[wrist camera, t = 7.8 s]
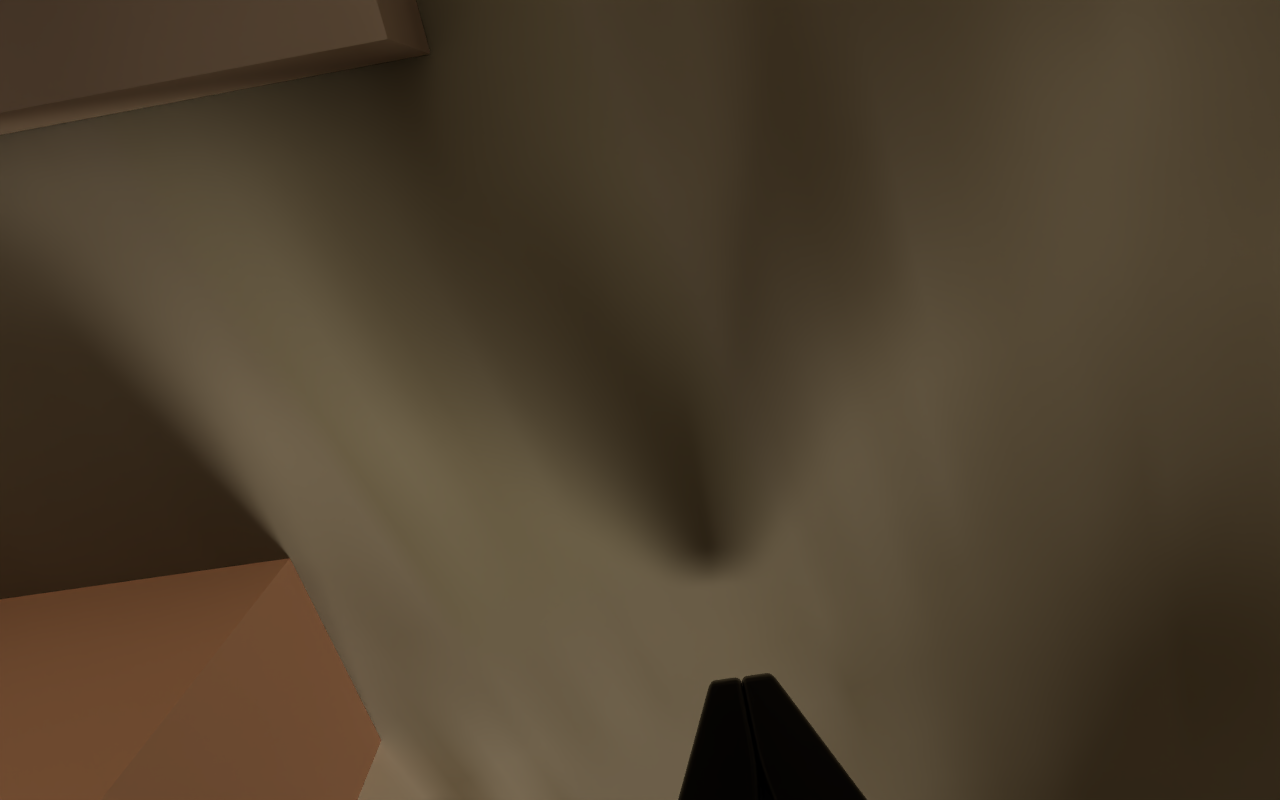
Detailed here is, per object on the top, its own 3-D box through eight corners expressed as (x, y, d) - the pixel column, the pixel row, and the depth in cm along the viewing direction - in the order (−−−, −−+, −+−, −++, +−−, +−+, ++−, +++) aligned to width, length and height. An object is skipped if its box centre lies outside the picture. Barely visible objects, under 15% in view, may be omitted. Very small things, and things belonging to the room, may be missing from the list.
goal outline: (391, -91, 6) (335, -141, 5) (668, 943, 13) (671, 1016, 12) (-1133, 217, 7) (-1486, 235, 5) (-59, 1020, 14) (-116, 1094, 13)
